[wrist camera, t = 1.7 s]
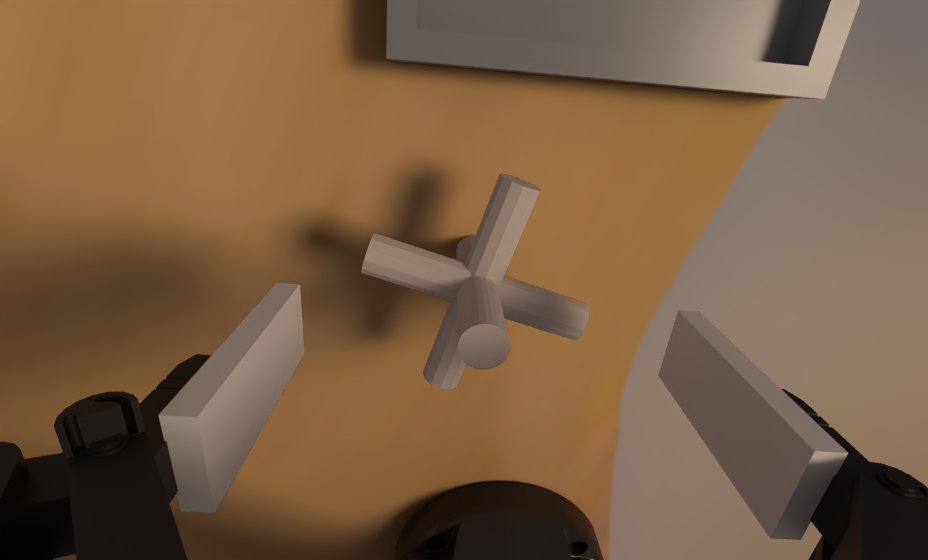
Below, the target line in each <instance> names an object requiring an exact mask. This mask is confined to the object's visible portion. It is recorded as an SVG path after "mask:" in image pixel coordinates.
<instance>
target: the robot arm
mask: <svg viewBox="0 0 928 560" xmlns="http://www.w3.org/2000/svg"><path fill="white" fill-rule="evenodd" d="M304 354H305V353H304V338H303V323H302V308H301V293H300V284H289V283H276V284H275V285H274V286H273V288H272V289H271V290H270V291H269V292H268V293H267V294H266V295H265V297H264V298H263V299H262V300H261V301H260V302H259V303H258V304H257V305H256V307H255V308H254V309H253V310H252V311H251V312H250V313H249V314H248V316H247V317H246V318H245V319H244V320H243V321H242V322H241V323H240V324H239V326H238V327H237V328H236V329H235V330H234V331H233V332H232V333H231V335H230V336H229V337H228V338H227V339H226V340H225V341H224V342H223V343H222V345H221V346H220V347H219V348H218V349H217V350H216V351H215V352H214V353H213V355H200V354H196V355H194V356H193V357H191V358H189V359H187V360H186V361H184V362H182V363H180V364H178V365H177V366H176V368H175V369H174V370H173V371H172V372H171V373H170V374H169V375H168V376H167V377H166V379H164V380H163V381H162V382H161V383H160V384H159V385H158V386H157V387H156V390H153V391H152V392H151V393H150V394H149V395H148V396H147V397H146V398H145V399H144V400H143V401H142V402H141V403H140V404H139V402H138V399H137V398H136V397H135V396H134V395H133V394H130V393H126V392H106V393H101V394H96V395H92V396H90V397H87V398H84V399H82V400H79V401H77V402H76V403H74V404H72V405H71V406H69V407H67V408H65V409H64V410H63V411H62V412H61V413H60V414H59V415H58V416H57V418H56V421H55V424H54V428H55V431H56V433H57V436H58V439H59V442H60V445H61V448H62V451H63V453H59V454H53V455H47V456H41V457H35V458H29V459H24V457H23V455H22V452H21V450H20V448H19V447H17V446H16V445H15V444H14V443H7V442H0V560H53V559H55V558H59V557H63V556H68V555H72V554H76V559H77V560H187V557H186V554H185V551H184V548H183V544H182V541H181V538H180V535H179V532H178V529H177V526H176V523H175V520H174V517H173V514H172V511H171V507H170V504H169V503H170V502H171V500H172V499H173V498H174V496H175V495H176V493H177V498H178V502H179V506H180V510H181V512H203V513H215V512H216V511H217V509H218V507H219V505H220V503H221V502H222V500H223V498H224V496H225V495H226V493H227V491H228V489H229V487H230V486H231V484H232V482H233V480H234V479H235V477H236V475H237V473H238V471H239V470H240V468H241V466H242V464H243V462H244V461H245V459H246V457H247V455H248V454H249V452H250V450H251V448H252V446H253V445H254V443H255V441H256V439H257V437H258V436H259V434H260V432H261V430H262V429H263V427H264V425H265V423H266V421H267V420H268V418H269V416H270V414H271V412H272V411H273V409H274V407H275V405H276V404H277V402H278V400H279V398H280V396H281V395H282V393H283V391H284V389H285V388H286V386H287V384H288V382H289V380H290V379H291V377H292V375H293V373H294V371H295V370H296V368H297V366H298V364H299V363H300V361H301V359H302V357H303V355H304ZM659 377H660V378H661V380H662V381H663V383H664V384H665V386H666V387H667V389H668V390H669V392H670V393H671V394H672V396H673V397H674V399H675V400H676V402H677V403H678V405H679V406H680V407H681V409H682V410H683V412H684V413H685V415H686V416H687V418H688V419H689V421H690V422H691V423H692V425H693V427H694V428H695V429H696V431H697V432H698V434H699V435H700V437H701V438H702V440H703V441H704V443H705V444H706V446H707V447H708V448H709V450H710V451H711V453H712V454H713V456H714V457H715V458H716V460H717V462H718V463H719V464H720V466H721V467H722V469H723V470H724V472H725V473H726V475H727V476H728V478H729V479H730V481H731V482H732V483H733V485H734V486H735V488H736V489H737V491H738V492H739V493H740V495H741V497H742V498H743V499H744V501H745V502H746V504H747V505H748V507H749V508H750V510H751V511H752V513H753V514H754V516H755V517H756V518H757V520H758V521H759V523H760V524H761V526H762V527H763V528H764V530H765V531H766V533H767V534H768V536H769V537H770V538H774V539H795V540H801V538H802V536H803V535H804V533H805V531H806V529H807V527H808V525H809V524H810V522H812V523H813V524H814V526H815V527H816V528H817V529H818V531H819V532H820V533H821V534H822V537H821V539H820V540H819V542H818V544H817V546H816V548H815V549H814V551H813V553H812V554H811V556H810V558H809V560H928V488H927V487H926V486H925V485H924V484H922V483H921V482H919V481H918V480H916V479H915V478H913V477H912V476H911V475H909V474H906V473H905V472H903V471H901V470H899V469H897V468H894V467H891V466H888V465H885V464H881V463H874V462H869V461H868V460H867V459H866V458H865V457H864V456H863V455H862V454H860V453H859V452H858V451H857V450H856V449H855V448H854V447H853V446H852V445H851V444H850V443H848V442H847V441H846V440H845V439H844V438H843V437H842V436H841V435H840V434H839V433H838V432H837V431H835V430H834V429H833V428H832V427H829V424H828V423H827V422H826V421H825V420H823V419H822V418H821V417H820V416H819V417H818V416H817V413H816V412H815V411H814V410H813V409H812V408H811V407H809V406H808V405H807V404H806V403H805V402H804V401H802V400H801V399H799V398H798V397H796V396H795V395H793V394H791V393H790V392H788V391H786V390H785V389H780V388H779V387H778V386H777V385H776V384H775V383H774V382H773V381H772V380H771V379H770V378H769V377H768V376H767V375H765V373H763V372H762V371H761V370H760V369H759V368H758V367H757V366H756V365H755V364H754V363H753V362H752V361H751V360H750V359H749V358H747V356H746V355H744V354H743V353H742V352H741V351H740V350H739V349H738V348H737V347H736V346H735V345H734V344H733V343H732V342H731V341H730V340H729V339H728V338H727V337H725V336H724V335H723V334H722V333H721V332H720V331H719V330H718V329H717V328H716V327H715V326H714V325H713V324H712V323H711V322H709V320H708V319H707V318H705V317H704V316H703V315H702V314H701V313H700V312H695V311H680V310H679V311H678V313H677V317H676V320H675V323H674V326H673V330H672V333H671V336H670V340H669V343H668V346H667V350H666V353H665V356H664V359H663V362H662V366H661V369H660V373H659ZM395 560H603V556H602V553H601V550H600V547H599V543H598V540H597V537H596V534H595V531H594V529H593V526H592V524H591V523H590V521H589V520H588V518H587V517H586V515H585V514H584V513H583V512H582V511H581V510H580V509H579V508H578V507H577V506H576V505H574V504H573V503H572V502H570V501H569V500H567V499H566V498H564V497H562V496H560V495H558V494H556V493H554V492H551V491H549V490H546V489H543V488H540V487H536V486H532V485H527V484H520V483H505V482H499V483H485V484H478V485H473V486H468V487H465V488H461V489H458V490H455V491H452V492H450V493H447V494H445V495H443V496H441V497H439V498H437V499H435V500H433V501H432V502H430V503H429V504H427V505H426V506H424V507H423V508H422V509H421V510H419V511H418V512H417V513H416V514H415V515H414V516H413V517H412V518H411V519H410V521H409V522H408V523H407V525H406V526H405V527H404V529H403V531H402V533H401V535H400V537H399V540H398V543H397V548H396V556H395Z"/></svg>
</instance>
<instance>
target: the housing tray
mask: <svg viewBox="0 0 928 560" xmlns="http://www.w3.org/2000/svg"><path fill="white" fill-rule="evenodd" d="M859 3H860V0H387V47H386V59H389V60H391V61H393V62H402V63H413V64H423V65H434V66H445V67H456V68H467V69H477V70H488V71H499V72H510V73H521V74H532V75H542V76H553V77H564V78H575V79H586V80H596V81H607V82H618V83H629V84H640V85H650V86H661V87H672V88H683V89H694V90H704V91H715V92H726V93H737V94H748V95H758V96H769V97H780V98H805V99H825V97H826V94H827V91H828V88H829V86H830V83H831V80H832V77H833V75H834V72H835V69H836V66H837V64H838V61H839V58H840V55H841V52H842V50H843V47H844V44H845V41H846V39H847V36H848V33H849V30H850V28H851V25H852V22H853V19H854V17H855V14H856V11H857V8H858V5H859Z"/></svg>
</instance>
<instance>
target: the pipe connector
mask: <svg viewBox="0 0 928 560" xmlns="http://www.w3.org/2000/svg"><path fill="white" fill-rule="evenodd" d="M540 190H541V189H539V188H538V187H537V186H535V185H533V184H531V183H529V182H526V181H524V180H521V179H519V178H516V177H513V176H510V175H507V174H502V173H501V174H499V177H498V180H497V182H496V185H495V187H494V190H493V192H492V195H491V198H490V200H489V203H488V205H487V208H486V210H485V213H484V216H483V218H482V221H481V223H480V226H479V229H478V231H477V234H476V236H475V235H472V236H467V237H465V238H463V239H462V240H461V241H460V242H459V243H458V245H457V248H456V260H455V259H452V258H449V257H446V256H443V255H440V254H437V253H434V252H431V251H428V250H425V249H422V248H419V247H416V246H413V245H410V244H407V243H404V242H401V241H398V240H395V239H392V238H389V237H386V236H383V235H380V234H377V233H374V234H373V236H372V238H371V241H370V244H369V246H368V249H367V252H366V255H365V259H364V262H363V266H362V270H361V273H364V274H367V275H370V276H373V277H376V278H380V279H383V280H386V281H389V282H392V283H395V284H398V285H402V286H405V287H408V288H411V289H414V290H417V291H421V292H424V293H427V294H430V295H433V296H436V297H439V298H443V299H446V300H449V301H450V303H449V306H448V309H447V311H446V314H445V316H444V319H443V321H442V324H441V327H440V329H439V332H438V334H437V337H436V339H435V342H434V345H433V347H432V350H431V352H430V355H429V358H428V360H427V363H426V365H425V368H424V370H423V374H424V377H425V379H426V380H427V381H428V382H429V383H430V384H431V385H434V386H436V387H438V388H440V389H448V390H450V389H453V388H456V386H457V384H458V382H459V380H460V377H461V375H462V373H463V370H464V368H465V366H466V364H467V365H469V366H471V367H473V368H476V369H490V368H494V367H496V366H498V365H500V364H501V363H502V362H503V361H504V360H505V359H506V358H507V356H508V355H509V351H510V340H509V335H508V331H507V326H506V322H505V318H506V319H509V320H512V321H515V322H518V323H521V324H524V325H528V326H531V327H534V328H537V329H540V330H543V331H546V332H550V333H553V334H556V335H559V336H562V337H565V338H569V339H572V340H576V339H578V338H580V336H581V335H582V333H583V332H584V330H585V328H586V325H587V323H588V318H589V308H588V304H586V303H584V302H582V301H579V300H576V299H573V298H570V297H567V296H564V295H561V294H558V293H555V292H552V291H549V290H546V289H543V288H540V287H537V286H534V285H531V284H528V283H525V282H522V281H518V280H515V279H512V278H509V277H506V276H504V274H505V272H506V270H507V267H508V265H509V263H510V260H511V258H512V256H513V253H514V251H515V249H516V246H517V244H518V242H519V239H520V237H521V235H522V232H523V230H524V228H525V225H526V223H527V221H528V218H529V216H530V214H531V211H532V209H533V207H534V204H535V202H536V200H537V197H538V195H539V192H540Z"/></svg>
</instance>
